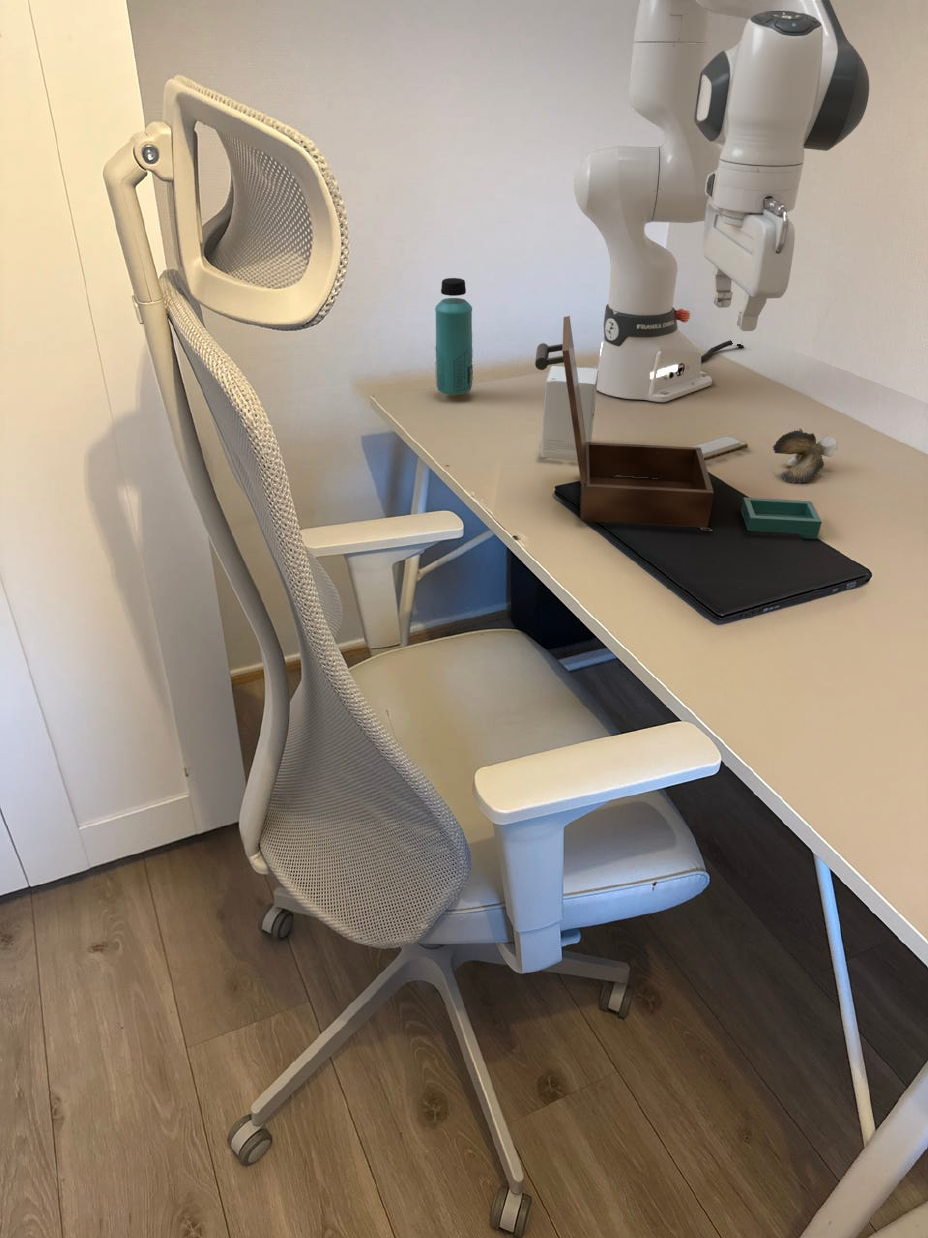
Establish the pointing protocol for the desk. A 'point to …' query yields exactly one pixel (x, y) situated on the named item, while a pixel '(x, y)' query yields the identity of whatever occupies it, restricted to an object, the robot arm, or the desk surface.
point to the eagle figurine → (804, 454)
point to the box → (646, 485)
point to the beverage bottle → (454, 340)
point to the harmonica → (720, 447)
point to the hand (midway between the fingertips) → (733, 317)
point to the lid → (572, 386)
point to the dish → (781, 516)
